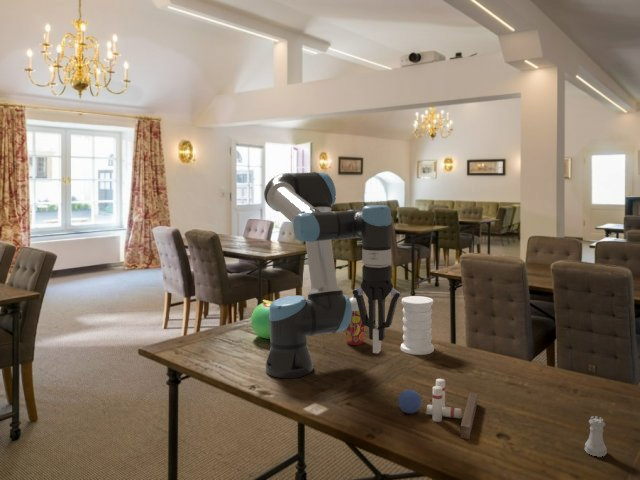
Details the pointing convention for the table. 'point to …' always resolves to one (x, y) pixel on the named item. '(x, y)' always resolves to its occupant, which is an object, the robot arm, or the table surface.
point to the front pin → (447, 411)
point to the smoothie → (355, 326)
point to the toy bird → (261, 319)
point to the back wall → (468, 416)
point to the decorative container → (417, 325)
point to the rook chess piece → (596, 438)
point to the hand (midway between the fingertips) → (376, 351)
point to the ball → (409, 401)
